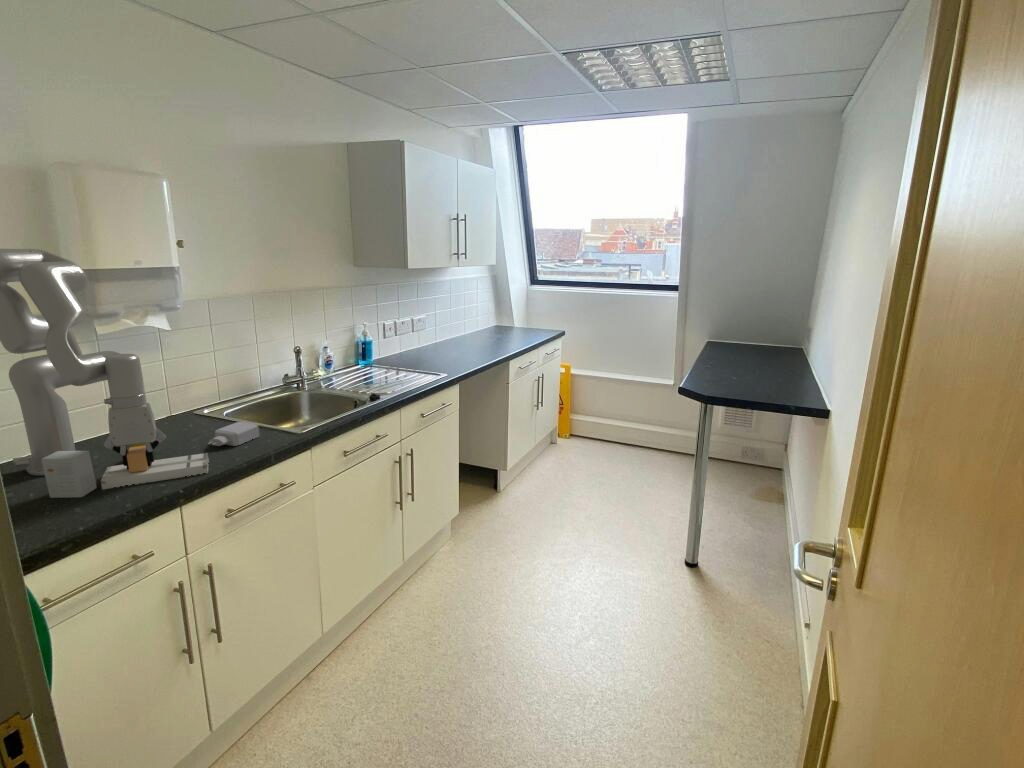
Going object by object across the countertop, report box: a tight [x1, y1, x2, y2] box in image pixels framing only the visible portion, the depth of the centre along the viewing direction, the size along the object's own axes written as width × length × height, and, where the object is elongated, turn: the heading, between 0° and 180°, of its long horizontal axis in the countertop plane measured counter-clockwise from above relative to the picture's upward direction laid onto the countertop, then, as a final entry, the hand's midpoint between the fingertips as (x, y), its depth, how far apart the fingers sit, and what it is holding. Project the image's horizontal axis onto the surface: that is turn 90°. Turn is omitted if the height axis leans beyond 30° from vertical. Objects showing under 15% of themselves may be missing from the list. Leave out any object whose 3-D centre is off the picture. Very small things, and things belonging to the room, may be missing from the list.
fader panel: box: [100, 452, 210, 490], centre depth 152 cm, size 24×10×3 cm, turn 117°
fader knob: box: [127, 446, 149, 472], centre depth 149 cm, size 4×6×6 cm, turn 27°
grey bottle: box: [207, 421, 260, 447], centre depth 176 cm, size 5×9×15 cm
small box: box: [41, 450, 98, 499], centre depth 139 cm, size 8×6×10 cm
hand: (139, 465), depth 149 cm, fingers closed on fader knob, 4 cm apart
